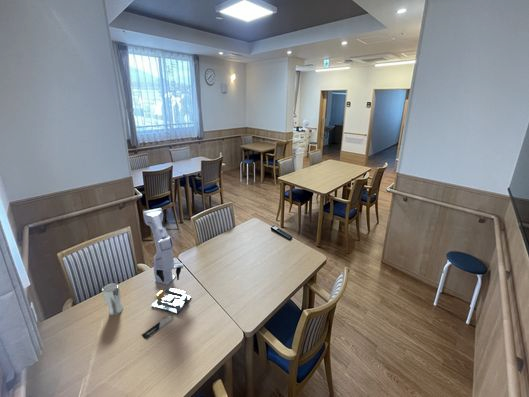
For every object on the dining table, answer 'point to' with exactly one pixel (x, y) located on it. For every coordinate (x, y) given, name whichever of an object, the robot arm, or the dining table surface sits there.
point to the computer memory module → (157, 327)
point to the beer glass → (112, 298)
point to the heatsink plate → (177, 302)
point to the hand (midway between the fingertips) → (170, 279)
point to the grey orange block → (164, 297)
